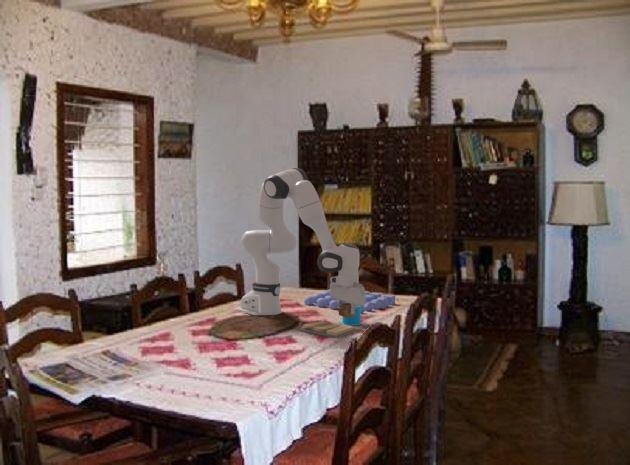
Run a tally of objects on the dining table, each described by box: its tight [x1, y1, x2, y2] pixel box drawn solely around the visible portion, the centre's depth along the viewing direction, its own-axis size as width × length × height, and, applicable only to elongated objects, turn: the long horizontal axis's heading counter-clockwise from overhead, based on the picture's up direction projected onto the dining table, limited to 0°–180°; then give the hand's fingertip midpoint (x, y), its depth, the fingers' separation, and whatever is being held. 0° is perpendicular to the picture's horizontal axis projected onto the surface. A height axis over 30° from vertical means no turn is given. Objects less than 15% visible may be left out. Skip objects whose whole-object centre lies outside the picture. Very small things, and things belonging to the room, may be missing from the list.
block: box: [338, 303, 355, 317], centre depth 303 cm, size 5×5×5 cm
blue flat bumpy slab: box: [303, 288, 396, 314], centre depth 354 cm, size 35×34×5 cm
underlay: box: [299, 324, 354, 339], centre depth 294 cm, size 18×14×2 cm
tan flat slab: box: [302, 319, 341, 333], centre depth 296 cm, size 11×12×1 cm
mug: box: [341, 306, 362, 326], centre depth 314 cm, size 12×8×8 cm
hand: (346, 311), depth 303 cm, fingers closed on block, 5 cm apart
